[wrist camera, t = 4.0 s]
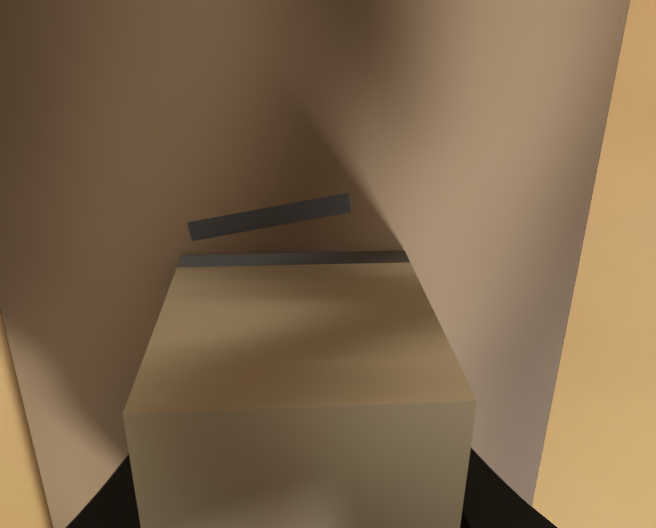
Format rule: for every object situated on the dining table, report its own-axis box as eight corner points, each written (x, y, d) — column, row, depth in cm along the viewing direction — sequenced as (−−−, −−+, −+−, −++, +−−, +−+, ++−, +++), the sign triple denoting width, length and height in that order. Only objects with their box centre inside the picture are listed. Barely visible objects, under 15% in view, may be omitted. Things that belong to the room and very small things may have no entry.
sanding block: (404, 250, 12) (477, 401, 8) (385, 535, 16) (428, 757, 11) (181, 254, 12) (123, 414, 8) (210, 544, 15) (180, 777, 11)
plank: (643, -263, 10) (687, -294, 9) (489, 617, 19) (502, 655, 18) (-104, -293, 9) (-155, -330, 8) (102, 643, 18) (90, 684, 17)
